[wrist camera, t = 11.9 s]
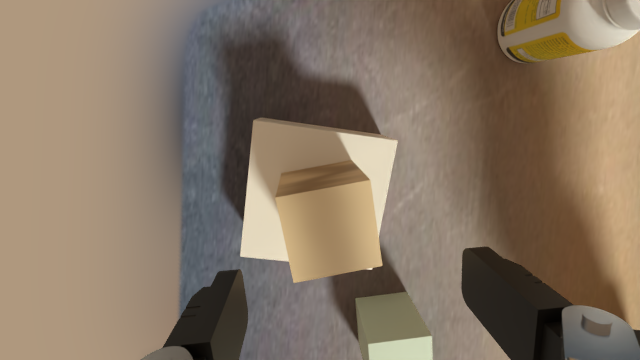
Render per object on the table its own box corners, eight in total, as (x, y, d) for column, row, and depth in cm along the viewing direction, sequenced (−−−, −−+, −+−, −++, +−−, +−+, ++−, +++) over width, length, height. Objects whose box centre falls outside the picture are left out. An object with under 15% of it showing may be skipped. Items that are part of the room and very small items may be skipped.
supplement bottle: (567, 47, 26) (722, 13, 16) (505, 75, 26) (623, 58, 17) (551, -22, 25) (709, -101, 15) (486, 9, 25) (602, -50, 15)
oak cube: (351, 160, 22) (370, 179, 16) (361, 225, 23) (382, 265, 18) (281, 172, 22) (275, 197, 16) (295, 238, 23) (293, 283, 17)
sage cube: (406, 291, 30) (431, 335, 25) (408, 335, 32) (432, 388, 26) (355, 297, 30) (368, 344, 24) (358, 342, 31) (372, 396, 26)
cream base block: (380, 134, 27) (397, 140, 22) (359, 242, 29) (371, 269, 24) (261, 117, 26) (253, 120, 21) (250, 230, 28) (240, 256, 23)
